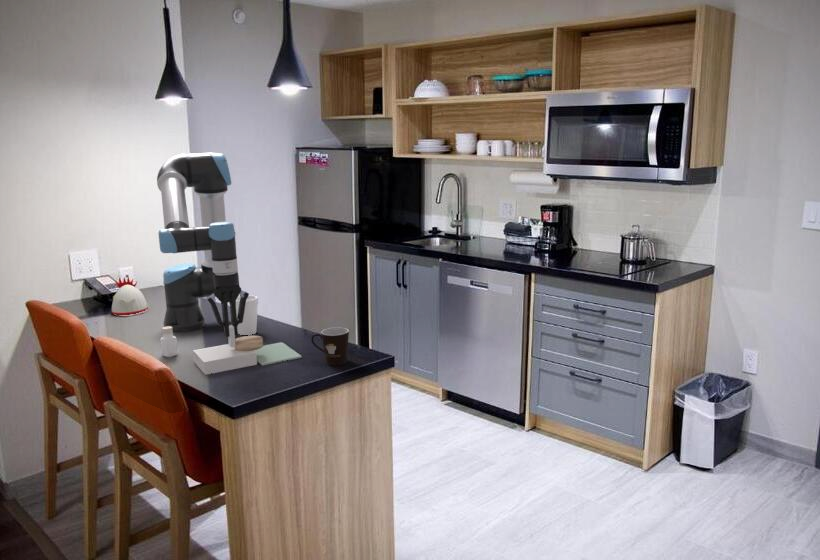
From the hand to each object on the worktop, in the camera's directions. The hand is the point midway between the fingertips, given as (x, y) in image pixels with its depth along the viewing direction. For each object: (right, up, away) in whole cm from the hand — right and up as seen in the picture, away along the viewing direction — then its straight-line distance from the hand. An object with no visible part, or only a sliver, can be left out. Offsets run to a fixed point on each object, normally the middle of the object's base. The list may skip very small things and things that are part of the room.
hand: (232, 346), depth 214 cm
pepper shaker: (-23, -4, +10) cm, 25 cm away
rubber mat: (+11, -3, +7) cm, 14 cm away
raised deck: (-2, -5, 0) cm, 6 cm away
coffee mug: (+32, -5, -1) cm, 32 cm away
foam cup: (-3, +1, +32) cm, 32 cm away
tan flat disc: (+5, -1, +3) cm, 5 cm away
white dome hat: (-60, +7, +68) cm, 91 cm away
